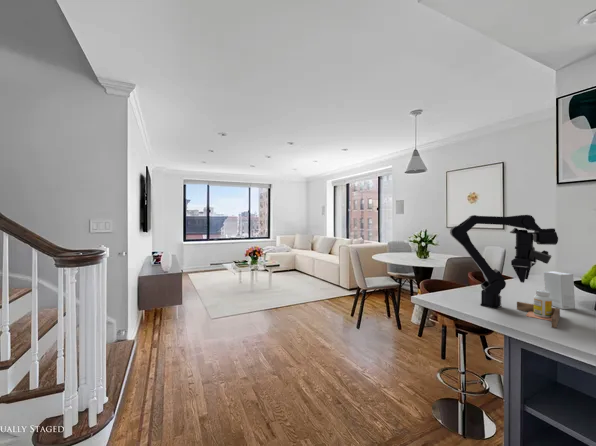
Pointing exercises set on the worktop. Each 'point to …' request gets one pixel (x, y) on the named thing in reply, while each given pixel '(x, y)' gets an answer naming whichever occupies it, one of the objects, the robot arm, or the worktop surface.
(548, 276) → the skincare box
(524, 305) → the walnut corner walls
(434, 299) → the worktop surface
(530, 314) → the terracotta mat
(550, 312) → the supplement bottle
